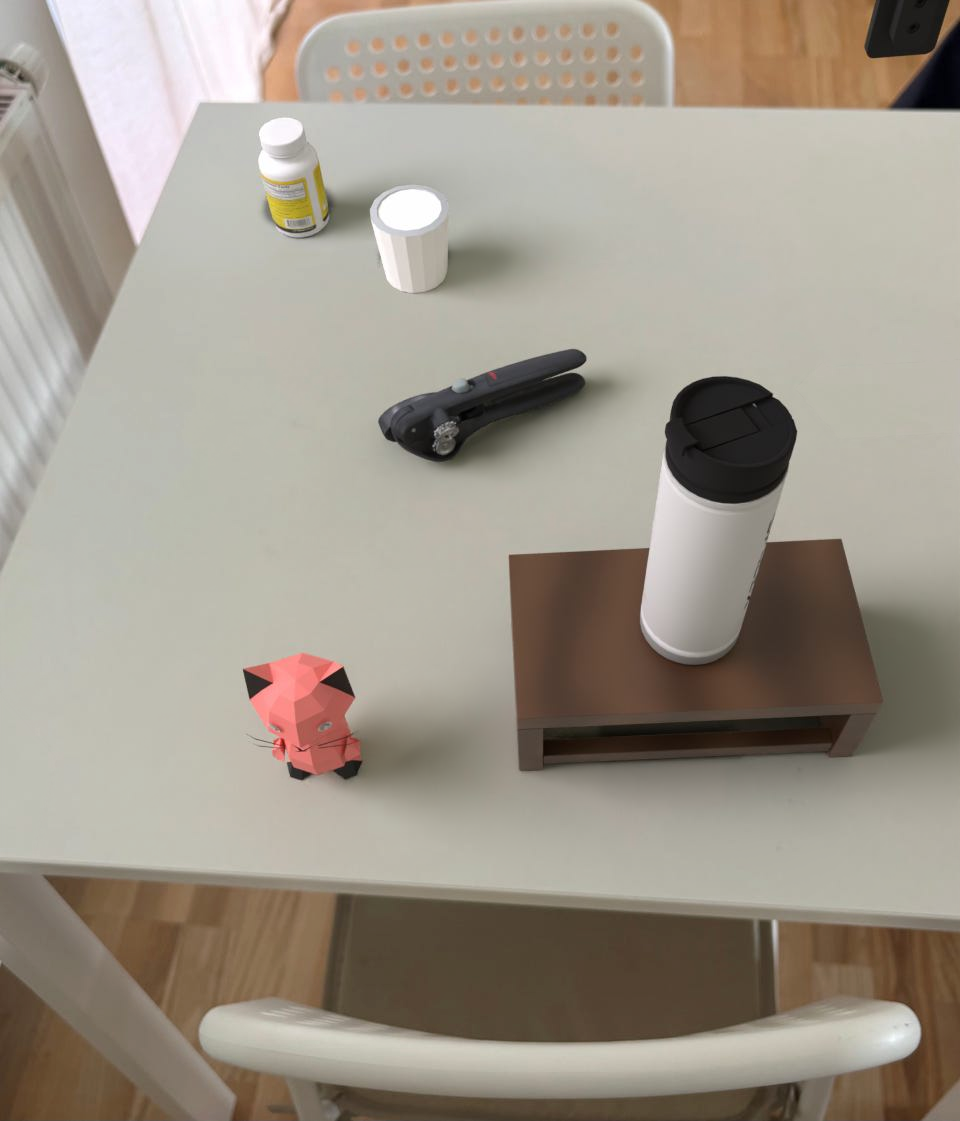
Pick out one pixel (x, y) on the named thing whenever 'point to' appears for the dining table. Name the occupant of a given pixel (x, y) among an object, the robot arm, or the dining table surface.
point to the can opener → (479, 404)
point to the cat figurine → (306, 714)
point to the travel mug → (713, 515)
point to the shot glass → (412, 236)
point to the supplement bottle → (292, 178)
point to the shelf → (680, 689)
